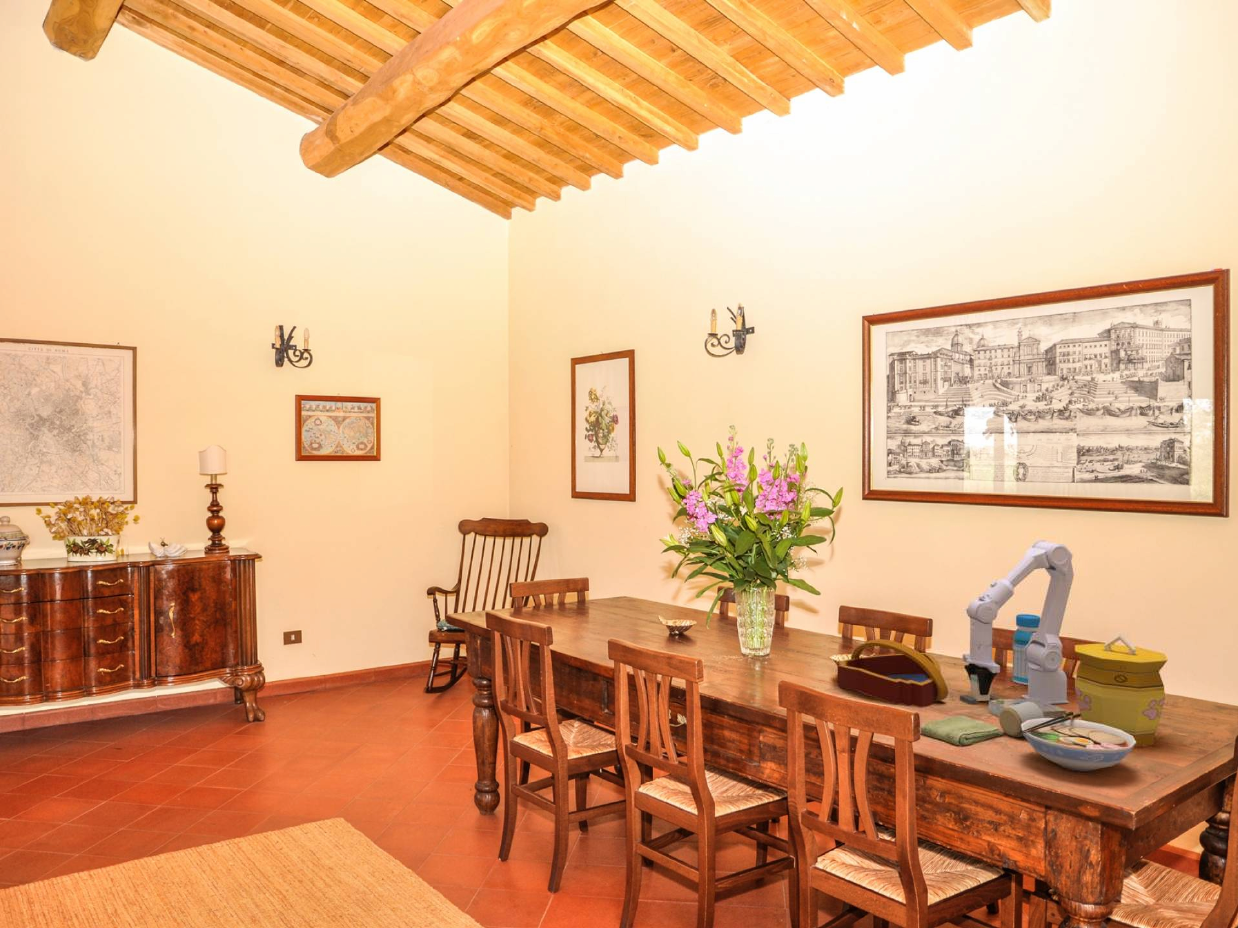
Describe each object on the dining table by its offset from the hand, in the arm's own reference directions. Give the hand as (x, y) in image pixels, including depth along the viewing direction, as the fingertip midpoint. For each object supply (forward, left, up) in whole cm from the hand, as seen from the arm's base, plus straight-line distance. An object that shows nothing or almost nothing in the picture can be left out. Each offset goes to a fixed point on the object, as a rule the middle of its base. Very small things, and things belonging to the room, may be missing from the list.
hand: (980, 692), depth 256 cm
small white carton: (0, 0, -2) cm, 2 cm away
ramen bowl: (+10, +51, -3) cm, 52 cm away
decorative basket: (+18, -15, -3) cm, 23 cm away
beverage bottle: (-27, -17, -3) cm, 32 cm away
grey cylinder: (+7, +30, -3) cm, 31 cm away
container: (-15, +34, -3) cm, 37 cm away
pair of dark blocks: (0, 0, -2) cm, 2 cm away
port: (-3, +16, -2) cm, 16 cm away
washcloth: (+23, +26, -3) cm, 35 cm away
